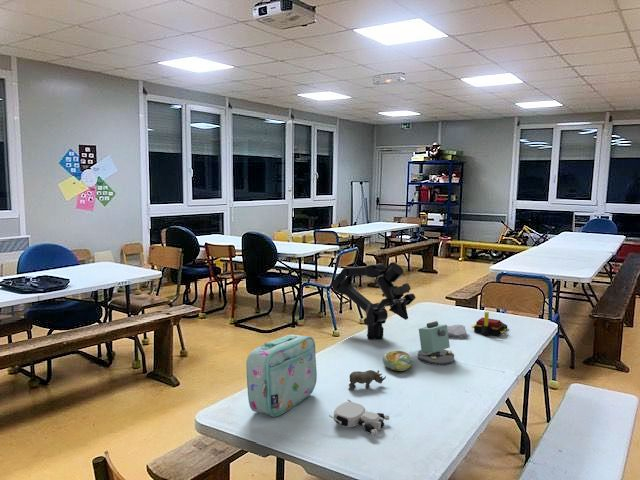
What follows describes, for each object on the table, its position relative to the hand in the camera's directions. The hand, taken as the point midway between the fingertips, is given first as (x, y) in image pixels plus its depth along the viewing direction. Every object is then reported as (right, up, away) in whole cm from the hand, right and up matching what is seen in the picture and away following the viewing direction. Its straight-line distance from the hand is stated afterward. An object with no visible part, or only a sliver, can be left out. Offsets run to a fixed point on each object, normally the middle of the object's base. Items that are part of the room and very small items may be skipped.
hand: (406, 319), depth 211 cm
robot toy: (-25, -21, -64) cm, 72 cm away
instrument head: (+10, -10, -12) cm, 19 cm away
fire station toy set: (+44, -10, +27) cm, 53 cm away
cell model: (-7, -15, -19) cm, 25 cm away
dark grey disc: (+10, -14, -10) cm, 20 cm away
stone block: (+25, -11, +20) cm, 33 cm away
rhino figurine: (-20, -18, -38) cm, 46 cm away
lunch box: (-48, -19, -51) cm, 72 cm away
